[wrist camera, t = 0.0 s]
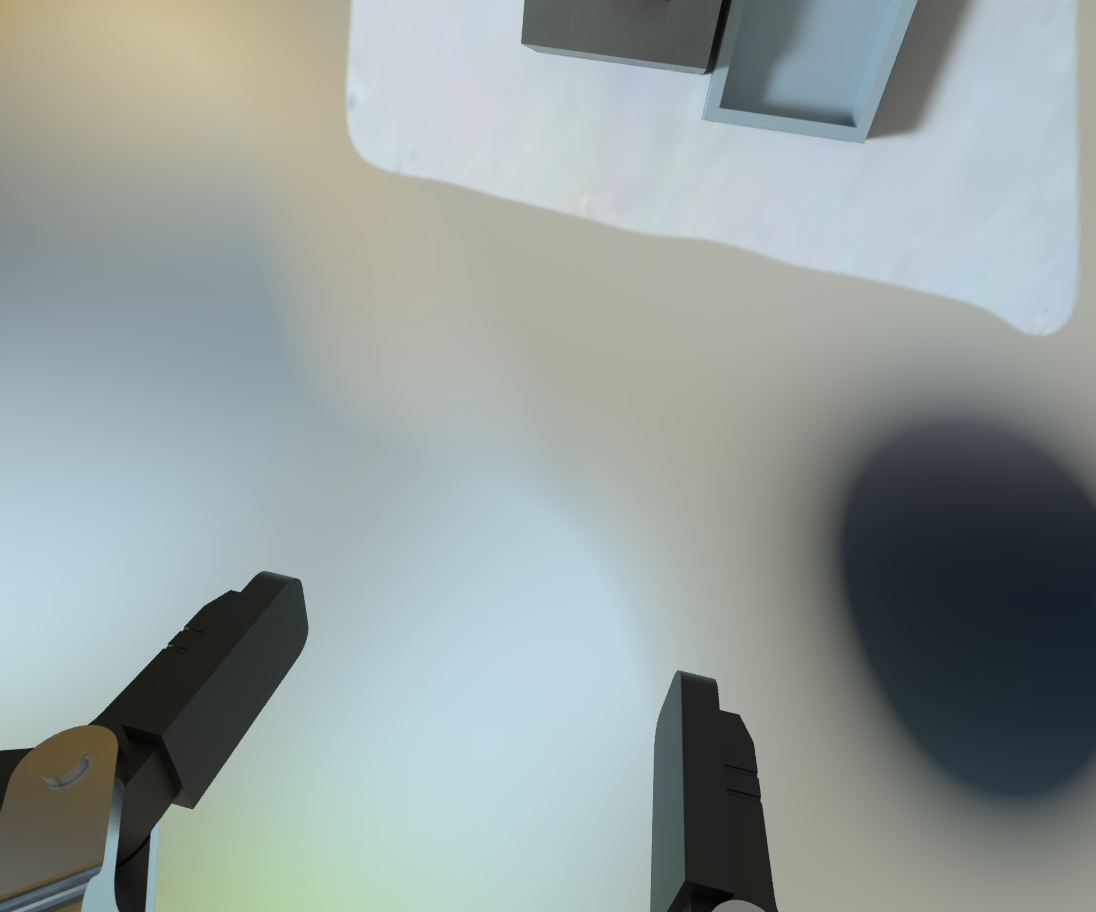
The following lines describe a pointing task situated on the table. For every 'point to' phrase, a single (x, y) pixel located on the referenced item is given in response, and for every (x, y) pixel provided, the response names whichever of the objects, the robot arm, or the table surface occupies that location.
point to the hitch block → (625, 31)
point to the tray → (806, 64)
